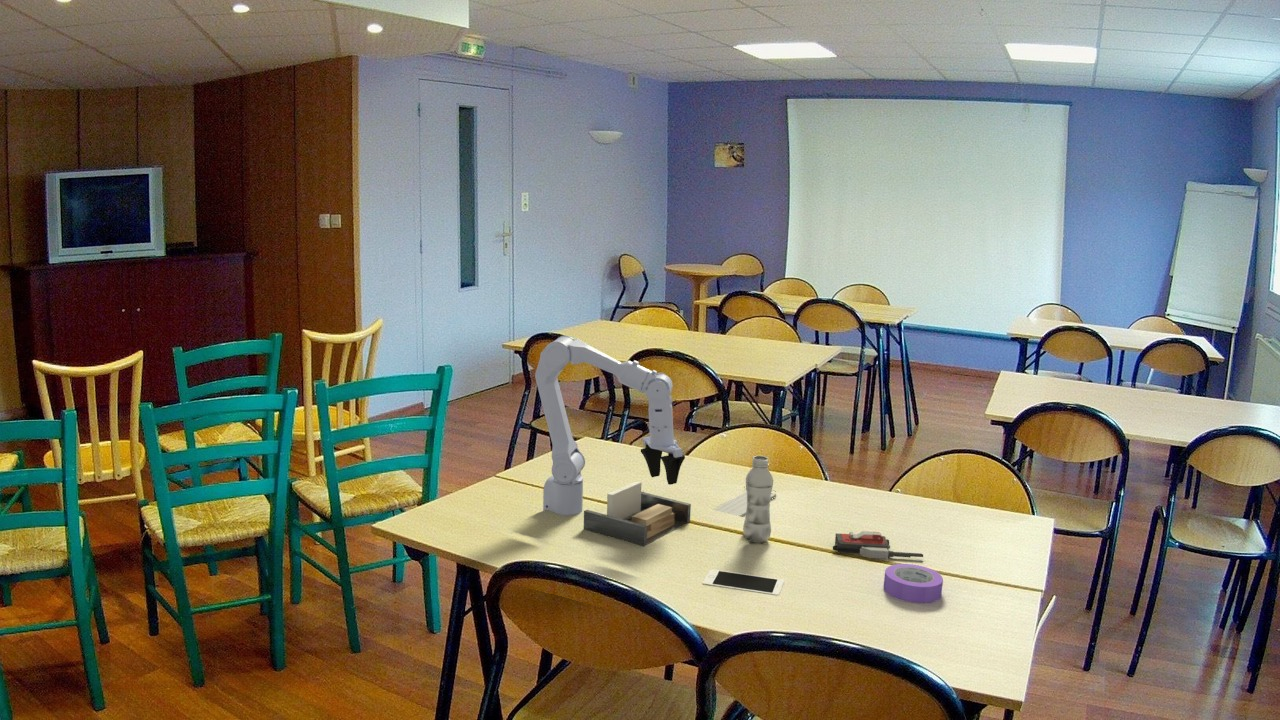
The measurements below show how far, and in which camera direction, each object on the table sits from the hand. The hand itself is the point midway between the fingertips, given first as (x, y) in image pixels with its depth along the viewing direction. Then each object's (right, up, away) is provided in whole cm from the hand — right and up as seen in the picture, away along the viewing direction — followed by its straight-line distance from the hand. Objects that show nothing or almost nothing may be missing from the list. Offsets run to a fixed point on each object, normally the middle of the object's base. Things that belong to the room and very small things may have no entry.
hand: (663, 479), depth 238 cm
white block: (-10, -10, -1) cm, 14 cm away
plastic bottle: (+22, -13, -7) cm, 26 cm away
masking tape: (+51, -20, -32) cm, 63 cm away
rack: (-6, -12, -3) cm, 14 cm away
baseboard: (+18, -10, +14) cm, 25 cm away
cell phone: (+16, -18, -31) cm, 39 cm away
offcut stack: (-3, -11, -6) cm, 13 cm away
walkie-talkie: (+48, -16, -12) cm, 52 cm away
